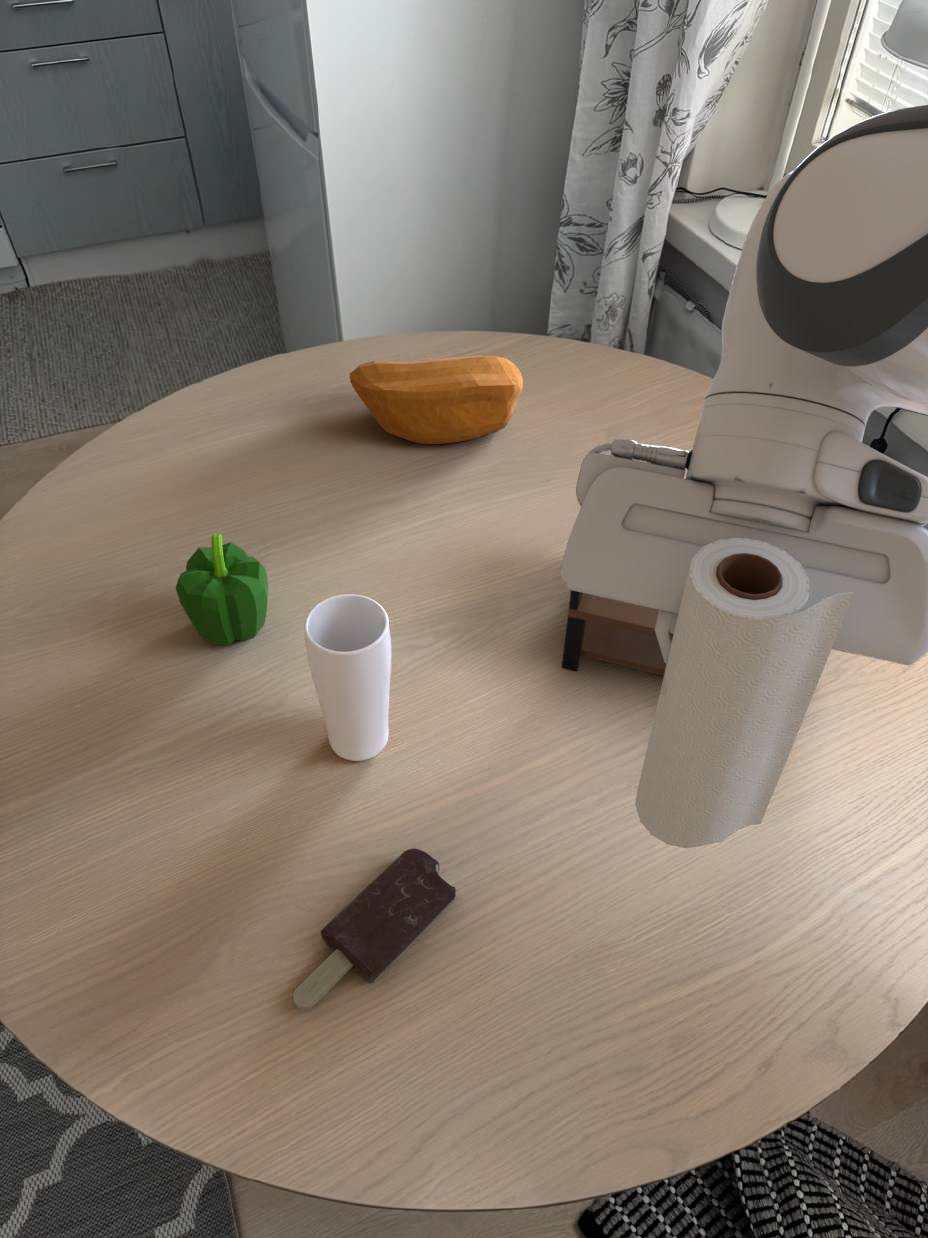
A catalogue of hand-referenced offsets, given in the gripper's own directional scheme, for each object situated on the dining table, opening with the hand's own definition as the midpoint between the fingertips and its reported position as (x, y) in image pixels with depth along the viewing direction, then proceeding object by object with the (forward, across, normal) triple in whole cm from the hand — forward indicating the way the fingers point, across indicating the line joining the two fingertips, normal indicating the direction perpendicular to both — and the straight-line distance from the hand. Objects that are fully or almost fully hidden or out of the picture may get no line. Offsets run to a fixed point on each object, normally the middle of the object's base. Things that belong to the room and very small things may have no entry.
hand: (712, 706), depth 56 cm
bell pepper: (+6, -45, +33) cm, 56 cm away
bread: (-22, -38, +62) cm, 75 cm away
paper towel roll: (+8, 0, +9) cm, 12 cm away
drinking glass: (+12, -28, +27) cm, 40 cm away
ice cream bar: (+24, -20, +15) cm, 35 cm away
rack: (-3, -2, +42) cm, 42 cm away
